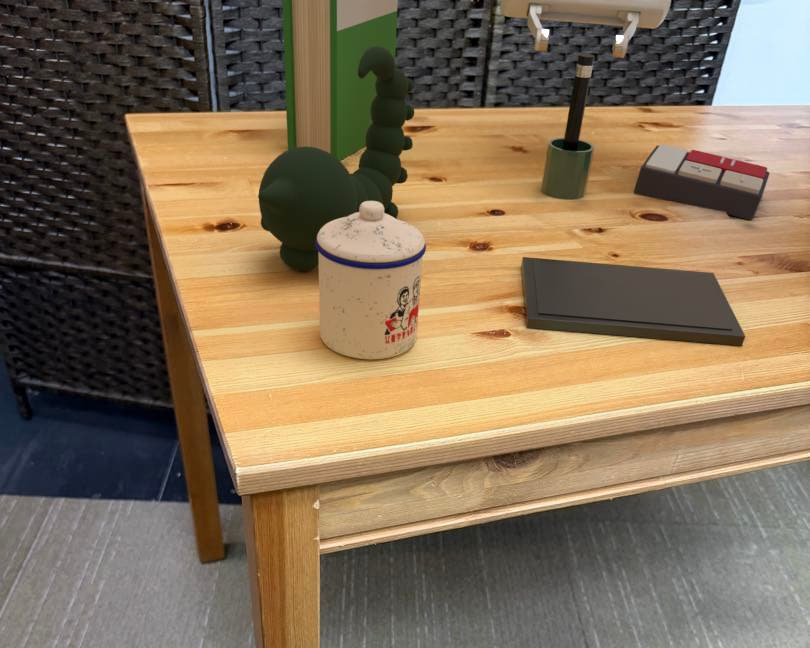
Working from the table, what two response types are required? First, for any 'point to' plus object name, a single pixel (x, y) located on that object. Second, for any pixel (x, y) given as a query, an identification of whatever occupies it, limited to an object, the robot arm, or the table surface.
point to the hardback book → (332, 70)
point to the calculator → (702, 180)
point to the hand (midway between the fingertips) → (580, 51)
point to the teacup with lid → (369, 283)
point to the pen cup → (566, 170)
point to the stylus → (578, 101)
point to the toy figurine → (338, 171)
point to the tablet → (627, 301)
